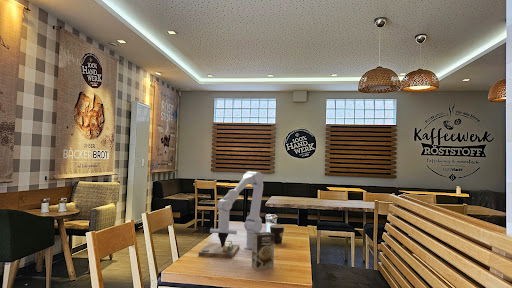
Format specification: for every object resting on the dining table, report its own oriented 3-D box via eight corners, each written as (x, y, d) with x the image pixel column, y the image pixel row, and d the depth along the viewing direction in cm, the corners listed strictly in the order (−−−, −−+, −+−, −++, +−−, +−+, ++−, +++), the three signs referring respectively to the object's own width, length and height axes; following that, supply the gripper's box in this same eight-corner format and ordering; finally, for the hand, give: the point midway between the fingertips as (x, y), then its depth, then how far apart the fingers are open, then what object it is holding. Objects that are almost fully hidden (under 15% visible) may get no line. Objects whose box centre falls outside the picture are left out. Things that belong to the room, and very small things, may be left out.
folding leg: (227, 245, 197) (227, 240, 197) (232, 245, 197) (232, 240, 197) (222, 250, 185) (222, 246, 185) (227, 251, 185) (227, 246, 185)
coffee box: (256, 270, 162) (257, 235, 163) (251, 266, 168) (252, 232, 169) (274, 268, 166) (275, 234, 166) (268, 264, 172) (269, 231, 172)
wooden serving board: (239, 248, 199) (239, 240, 199) (232, 258, 179) (232, 249, 179) (208, 246, 202) (209, 238, 202) (198, 256, 182) (198, 247, 182)
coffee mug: (274, 244, 210) (274, 228, 210) (267, 241, 217) (267, 225, 217) (290, 243, 215) (290, 226, 215) (282, 239, 223) (283, 224, 223)
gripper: (208, 222, 186) (207, 247, 185) (235, 223, 184) (234, 249, 183) (212, 219, 193) (211, 244, 192) (237, 221, 191) (237, 246, 190)
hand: (222, 247), depth 188 cm, fingers closed
